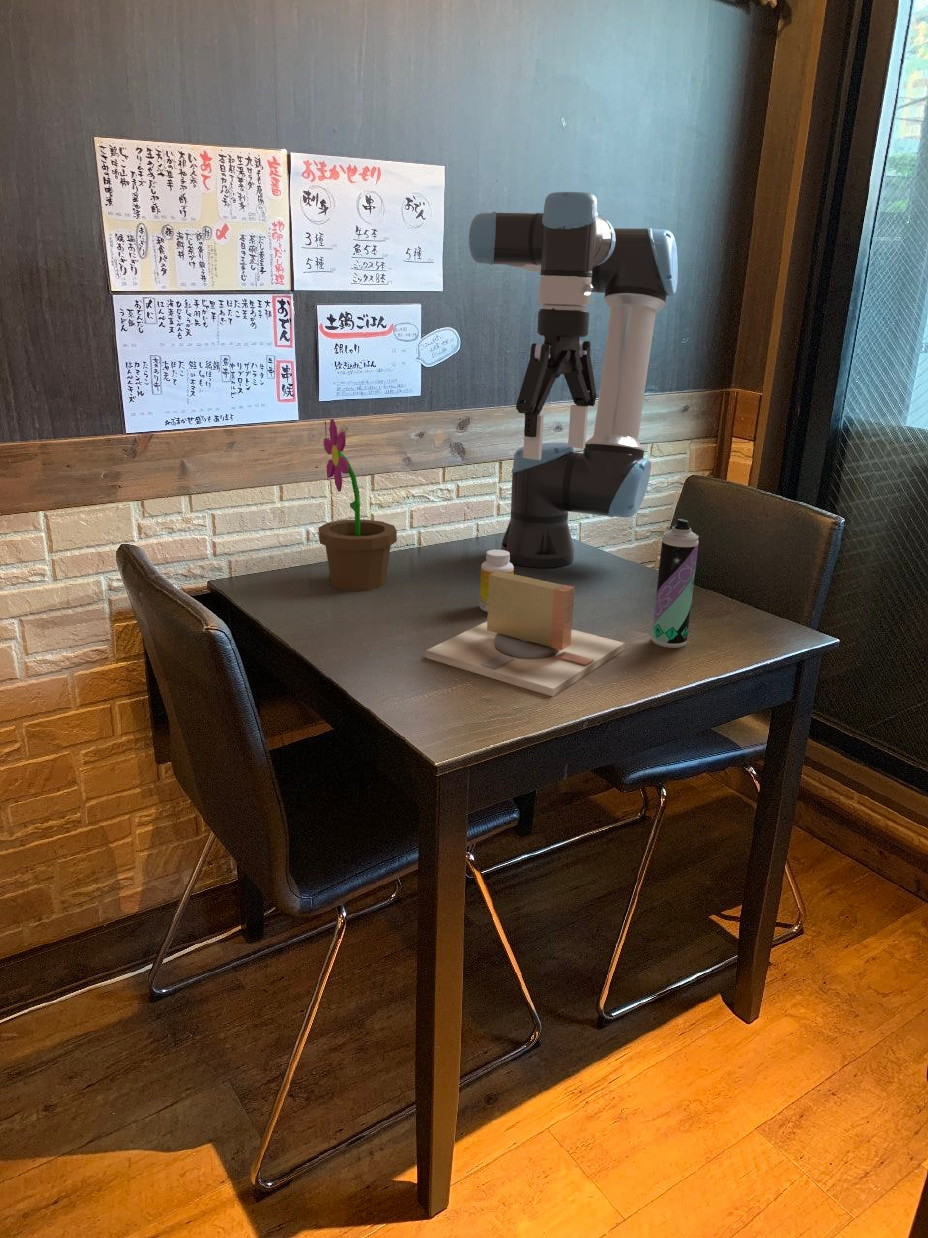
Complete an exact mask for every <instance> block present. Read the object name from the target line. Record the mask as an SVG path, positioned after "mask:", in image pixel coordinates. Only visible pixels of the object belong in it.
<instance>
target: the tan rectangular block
mask: <svg viewBox="0 0 928 1238" xmlns="http://www.w3.org/2000/svg"><path fill="white" fill-rule="evenodd" d="M574 599H575V586H573V585H572V586H571V585H567V584H560V583H556V582H551V581H546V580H542V579H537V578H532V577H529V576H523V575H519V574H514V573H513V574H510V573H506V572H501V571H497V572H494V573H492V574H490V575H489V593H488V612H487V620H486V621H487V631H491V632H495V633H499V634H503V635H506V636H510V637H514V638H518V639H519V640H520V641H523V642H533V643H537V644H541V645H545V646H549V647H551V648H555V649H558V650H563V649H565V648H567V647H568V646H570V645H571V631H572V628H573V616H574V602H575V600H574Z"/></svg>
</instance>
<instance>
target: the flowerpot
mask: <svg viewBox="0 0 928 1238" xmlns="http://www.w3.org/2000/svg"><path fill="white" fill-rule="evenodd" d="M328 429H329V430H328V431H329V438H328V437H327V438H323V448H324V451H325V452H326V454H327V455H331V459H329V460H328V461H327V464H326V477H327V478H328V479H329V478H332V477H334V478H333V479H334V485H335V487H336V491H337V492H338V493H339V492H340V493H341V491H342V488H343V487H342V486H343V475H342V474H344V475H345V474H348V475H349V476H350V480H351V481H350V482H351V485H352V492H353V496H354V501H352V502H350V503H349V507H350V509H352V510H353V511H354V519H342V520H336V521H330V522H325V523H324V524H322V525H321V526H319V527H318V539H319V540H318V541H319V544H320V545H322V546H325V552H326V558H327V564H328V565H327V566H328V570H329V571H328V572H329V579H330V582H331V583H330V584H331V586H332V587H334V588H337V589H338V590H341V591H342V590H343V591H350V592H363V591H366V592H368V591H372V590H377V589H381V588H382V587H384V585H386V583H387V577H388V567H389V561H390V560H389V559H390V554H391V552H390V551H391V546H392V545H393V544H395V543H397V542H398V541H397V540H398V534H397V533H398V530H397V529H396V528H397V527H395V525H393V524H391V523H387V522H384V521H382V520H381V521H380V520H372V519H361V508H360V507H361V497H360V490H359V489H360V488H359V485H358V481H357V477H356V474H355V471H354V470H353V468H352V466H351V463H350V462H349V460H348V457H346V456H345V455H344V453H343V452H344V449H345V447H346V433H345V432H344V431H343V432H340V433H338V428H337V424H336V423H335V420H334V418H331V419H330V421H329V428H328Z"/></svg>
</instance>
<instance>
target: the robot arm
mask: <svg viewBox="0 0 928 1238" xmlns="http://www.w3.org/2000/svg"><path fill="white" fill-rule="evenodd" d="M469 226H470V227H469V231H468V245H469V246H468V247H469V253H470V255H471V257H472V259H473V260H474V261H475V263H478V264H486V265H488V264H489V265H491V266H493V265H505V266H506V265H507V266H511V267H514V268H515V267H516V268H519V269H524V270H528V271H531V272H535V273H538V274H540V275H539V287H538V288H539V290H538V304H539V305H541V306H542V307H541V308H540V309H539V311H538V313H537V327H536V328H537V329H536V333H537V334H538V335H540V336H543V337H544V339H543V341H544V342H543V343H535V342H533V343H532V344H531V346H530V354H529V361H528V364H527V368H526V371H525V374H524V378H523V380H522V384H521V388H520V391H519V394H518V397H517V401H516V405H515V409H516V410H517V412H518V413H519V414H524V429H523V431H524V432H523V435H524V436H523V446H521V447H520V448H518V449H517V450H516V451H515V453H514V456H513V461H512V462H513V463H512V469H511V473H512V474H511V493H510V498H511V499H510V500H511V501H510V518H509V522H508V525H507V527H506V531H505V533H504V535H503V538H502V541H501V544H500V549H499V550H505V551H508V552H509V553H510V560H509V562H510V563H512V564H513V565H517V566H521V567H527V568H528V567H530V568H542V569H543V568H544V569H545V568H556V567H562V566H567V565H569V564H571V563H573V561H574V559H575V558H574V557H575V547H574V544H573V543H574V542H573V539H572V535H571V531H570V527H569V521H568V520H569V512H571V513H572V512H573V513H579V514H587V515H594V516H605V517H608V518H625V519H626V518H631V517H633V516H634V515H636V514H637V512H638V511H639V509H640V508H641V506H642V504H643V501H644V499H645V496H646V493H647V489H648V485H649V481H650V475H651V467H652V466H651V465H652V464H651V461H650V460H649V459H648V458H646V457H644V455H645V448H644V447H643V445H642V444H641V443H640V442H639V435H640V433H639V432H640V427H641V420H642V419H641V418H642V413H643V406H644V398H645V390H646V386H647V385H646V384H647V377H648V370H649V364H650V363H649V362H650V357H651V349H652V343H653V342H652V341H653V335H654V330H655V329H654V328H655V320H656V315H657V314H658V312H660V311H661V310H662V309H664V308H665V306H666V303H667V302H666V301H667V296H668V297H671V296H674V295H675V294H676V292H677V287H678V280H679V279H678V276H679V275H678V274H679V273H678V271H679V265H678V264H679V263H678V248H677V243H676V242H677V241H676V239H675V236H674V234H673V232H671V231H670V230H668V229H661V228H651V227H648V228H616V227H615V228H614V227H613V226H612V224H611V222H610V221H609V220H607V219H606V218H605V217H603V216H602V215H600V214H598V199H597V197H596V196H595V194H593V193H590V192H581V191H557V192H551V193H549V194H548V195H547V196H546V197H545V200H544V205H543V212H535V213H534V212H533V213H527V212H526V213H525V212H523V213H522V212H497V211H492V212H483V213H482V212H481V213H477V214H476V215H475V216H474V217H473V219H472V220H471V224H470V225H469ZM592 293H597V294H599V293H600V294H602V293H604V296H603V297H604V298H603V301H604V303H605V305H606V306H607V307H608V308H609V311H610V312H609V317H608V318H609V320H608V321H609V322H608V328H607V333H606V334H607V335H606V342H605V349H604V357H603V363H602V371H601V378H600V385H599V393H598V400H597V408H596V409H597V410H596V414H595V422H594V429H593V435H592V437H590V438H589V439H588V440H586V439H587V425H588V413H589V407H594V406H595V405H596V399H597V388H596V382H595V378H594V377H595V376H594V371H593V365H592V363H593V362H592V358H591V341H590V340H580V338H585V337H587V336H588V334H589V325H590V312H589V310H586V307H589V306H590V304H591V294H592ZM561 375H563V376H564V379H565V381H566V384H567V387H568V390H569V393H570V395H571V398H572V400H573V404H571V405H570V411H569V427H568V438H567V439H568V440H567V441H568V442H544V443H543V434H544V431H543V430H544V417H545V416H544V414H541V412H542V410H543V407H544V406H545V404H546V401H547V399H548V397H549V394H550V392H551V391H552V388H553V386H554V384H555V381H556V379H558V378H559V377H560V376H561ZM575 448H577V449H582V450H583V452H574V449H575Z"/></svg>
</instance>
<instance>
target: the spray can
mask: <svg viewBox="0 0 928 1238" xmlns="http://www.w3.org/2000/svg"><path fill="white" fill-rule="evenodd" d="M671 527H672V529H669V530H668V531H665V532H663V535H662V536H663V537H662V538H661V539H662V540H661V548H660V558H659V566H658V577H657V585H656V596H655V605H654V613H653V624H652V634H651V635H652V636H651V641H652V643H654V644H655V645H656V646H660V647H662V648H669V649H670V648H671V649H673V648H675V649H677V648H678V649H679V648H682V647H683V648H684V646H687V642H688V635H689V633H688V632H689V626H690V625H689V624H690V618H691V617H690V616H691V606H692V600H693V592H694V584H695V574H696V567H697V561H698V560H697V558H698V550H699V537H700V536H699V535H698V534H696V533H695V532H693V531H692V528H691V527H690V525H689V521H688V520H687V519H685V518H677V520H676V524H675V525H674V526H671Z"/></svg>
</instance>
